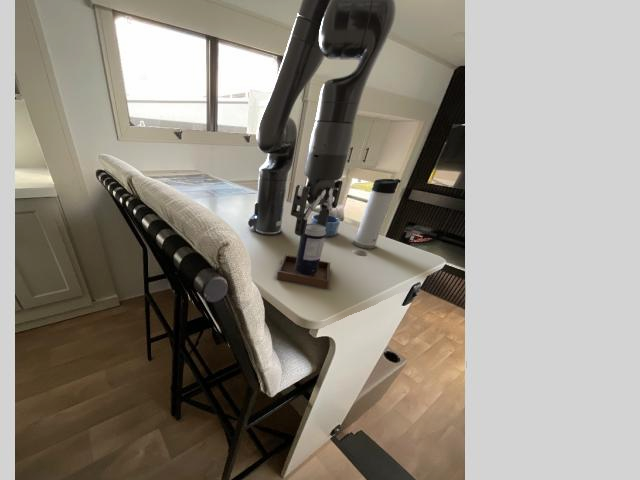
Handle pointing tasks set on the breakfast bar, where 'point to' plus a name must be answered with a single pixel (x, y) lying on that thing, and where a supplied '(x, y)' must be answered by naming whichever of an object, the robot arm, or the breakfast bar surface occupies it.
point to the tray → (290, 274)
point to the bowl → (329, 224)
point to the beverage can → (310, 249)
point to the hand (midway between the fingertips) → (310, 230)
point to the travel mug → (375, 212)
